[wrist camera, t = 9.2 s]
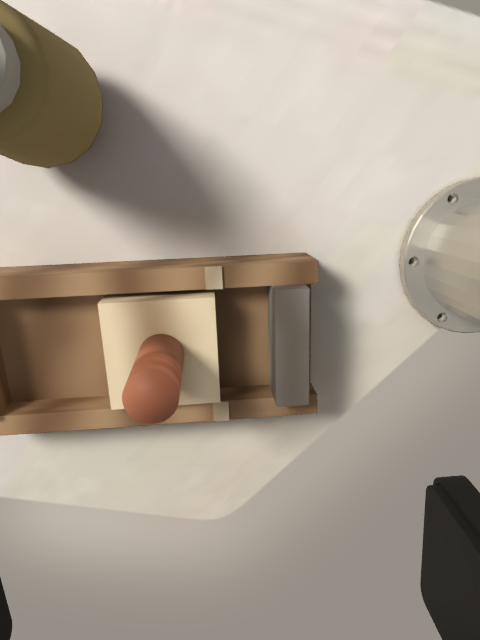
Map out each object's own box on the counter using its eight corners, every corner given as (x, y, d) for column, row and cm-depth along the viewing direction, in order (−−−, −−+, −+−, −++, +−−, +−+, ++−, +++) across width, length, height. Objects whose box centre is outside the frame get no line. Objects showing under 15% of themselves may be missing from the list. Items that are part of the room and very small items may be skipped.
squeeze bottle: (96, 186, 34) (-12, 185, 17) (-15, 145, 33) (-254, 100, 16) (127, 74, 32) (41, -54, 15) (11, 26, 31) (-230, -175, 14)
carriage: (213, 287, 35) (217, 326, 25) (219, 384, 37) (224, 455, 27) (106, 293, 34) (68, 335, 25) (118, 391, 37) (87, 465, 27)
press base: (305, 252, 37) (324, 264, 31) (304, 389, 40) (321, 423, 34) (-29, 268, 35) (-75, 284, 29) (0, 410, 39) (-36, 449, 33)
